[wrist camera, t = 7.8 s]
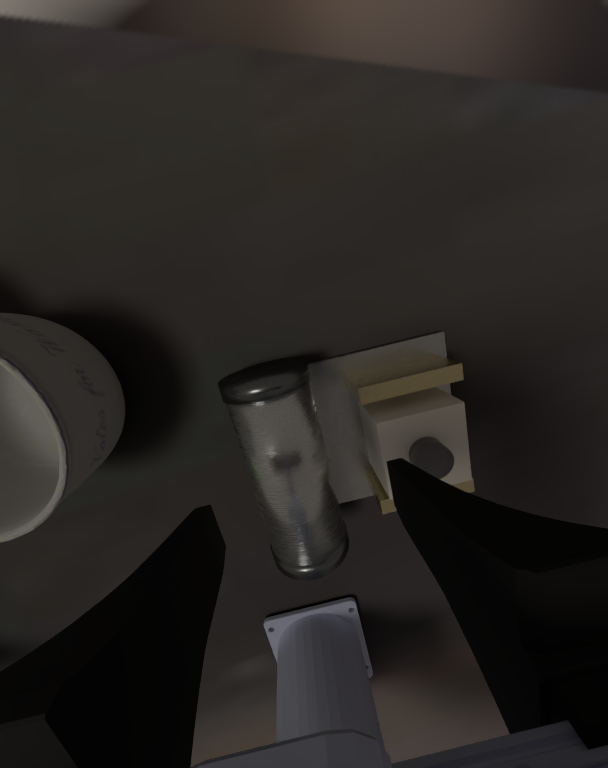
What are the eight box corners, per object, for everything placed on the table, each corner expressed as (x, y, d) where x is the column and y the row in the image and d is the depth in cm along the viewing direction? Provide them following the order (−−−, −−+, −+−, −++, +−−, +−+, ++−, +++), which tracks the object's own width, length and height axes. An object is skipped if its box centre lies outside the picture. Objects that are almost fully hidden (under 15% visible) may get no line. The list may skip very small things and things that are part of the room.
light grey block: (436, 446, 22) (484, 491, 17) (369, 462, 22) (397, 513, 17) (427, 382, 21) (477, 409, 16) (357, 399, 21) (383, 432, 15)
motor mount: (456, 478, 24) (508, 531, 18) (270, 524, 24) (266, 591, 18) (438, 319, 20) (495, 324, 15) (222, 371, 20) (199, 396, 15)
